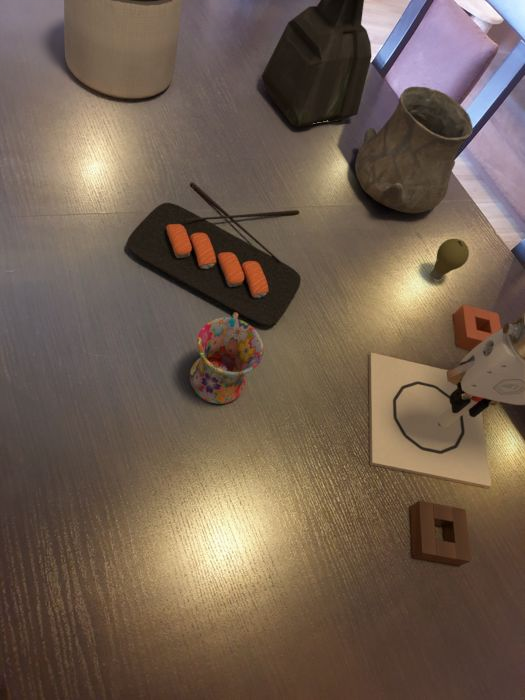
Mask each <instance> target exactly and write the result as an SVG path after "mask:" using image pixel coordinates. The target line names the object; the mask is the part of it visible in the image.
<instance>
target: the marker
mask: <svg viewBox="0 0 525 700" xmlns="http://www.w3.org/2000/svg"><path fill="white" fill-rule="evenodd" d="M470 399H471V402H470V403H469V404H468V405H467V406H466V407H464V408H463V409H462V410H461V411H459V412H458V413H452V406H451V407H449V408H448V409H447V410H446V411H445V412H444V413H442V414H441V415H440V416H439V417H438V425H439V426H442V427H448V426H449V425H450V424H452V423H453V422H454V421H455V420H457V419H458V418H459V417H460V416H462V415H463V414H464V413H465V412H467V411H468V410H469V409H470V408H472V407H473V406H474V405H475V404H477V403H478V402H479V401H481V400H482V399H484V398H481V397H477V396H473V397H471V398H470Z"/></svg>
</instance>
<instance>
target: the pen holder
mask: <svg viewBox="0 0 525 700" xmlns="http://www.w3.org/2000/svg"><path fill="white" fill-rule="evenodd" d="M452 320H453V327H454V328H453V329H454V336H455V345H456V348H459V349H464V350H467V351H471V350H472V349H474V348H475V347H476V346H477V345H479V344H480V343H481V342H483V341H484V340H485V339H487V338H488V337H490V336H491V335H493V334H494V333H496V332H497V331H499V330H501V329H502V326H501V325H502V324H501V320H500V314H499V313H497V312H494V311H489V310H486V309H482V308H480V307H479V308H478V307H474V306H472V305H467V304H462V305H461V306H460V307H459V308H458V309H457V310H456V311H455V312H454V313H453V314H452Z"/></svg>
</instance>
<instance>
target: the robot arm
mask: <svg viewBox="0 0 525 700" xmlns="http://www.w3.org/2000/svg"><path fill="white" fill-rule="evenodd" d="M446 373H447V381H449V382H450V383H452V384H454V385H457V389H456V390H455V391H454V392H453V393H452V394H451V395H450V404H451V406H452V413H458V412H459V411H461V410H462V409H463V408H464V407H466V406H467V405H468V404H469V403H470V402H471V399H470V398H471V397H473V396H477V397H481V398H484V399H482V400H481V401H479V402H478V403H477V404H475V405H474V406H473V407H472V408H470V409H469V415H470V416H471V417H476V416H477V415H478V414H480V413H481V412H482V413H483V411H485V410H486V409H487V408H489V407H490V406H497V405H499V404H500V403H505V404H509V405H514V406H525V312H523V313H522V314H521V315H520V316H519V317H518V318H517V319H516V320H515V321H514V322H512V323H509V322H505V324H504V325H503V327H501V330H499V331H497V332H496V333H494V334H493V335H491V336H490V337H488V338H487V339H485V340H484V341H483V342H481V343H480V344H479V345H477V346H476V347H475V348H474V349H472V350H469V352H468V353H466V355H465V356H464V357H463V358H462V359H461V360H460V362H459V364H458V366H455V367H453V368H451V369H448V371H447V372H446Z"/></svg>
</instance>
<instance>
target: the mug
mask: <svg viewBox="0 0 525 700" xmlns="http://www.w3.org/2000/svg"><path fill="white" fill-rule="evenodd" d="M196 341H197V343H196V345H197V350H198V353H199V355H200V357H199V358H197V360H196V361H195V362H194V363H193V364H192V366H191V369H190V371H189V380H190V381H189V382H190V384H191V387H192V389H193V391H194V392H195V393H196V394H197V395H198V396H199V397H200V398H201V399H202V400H204V401H206V402H209V403H211V404H217V405H218V404H219V405H220V404H227V403H231V402H232V401H235V400H236V399H238V398H239V397H240V396H241V395H242V393H243V391H244V390H245V385H246V376H245V374H248V373H250V372H251V371H253V370H255V369H256V368H257V367H258V366H259V365H260V363H261V361H262V360H263V356H264V344H263V340H262V337H261V336H260V334H259V332H257V330H256V329H255V328H254V327H253V326H252V325H250V324H249V323H248V322H246V321H244V320H242V319H239V313H237V312H235V311H234V312H233V313H232V315H231V317H230V316H229V317H227V316H225V317H218V318H214V319H212V320H210V321H208V322H207V323H206V324H204V326H202V327H201V329H200V331H199V333H198V336H197V340H196Z"/></svg>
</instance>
